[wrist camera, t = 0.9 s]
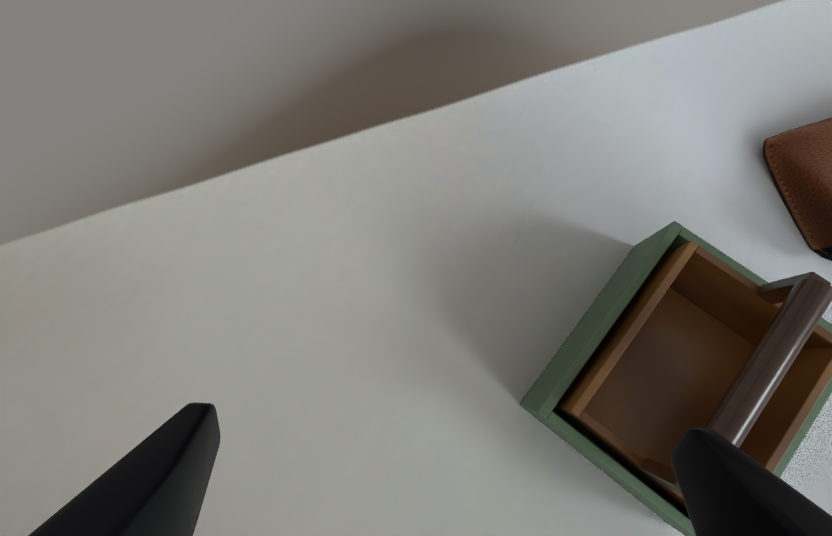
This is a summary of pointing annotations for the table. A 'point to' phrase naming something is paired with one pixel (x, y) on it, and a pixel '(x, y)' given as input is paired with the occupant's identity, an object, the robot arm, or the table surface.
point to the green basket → (590, 337)
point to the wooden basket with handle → (704, 366)
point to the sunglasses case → (805, 180)
